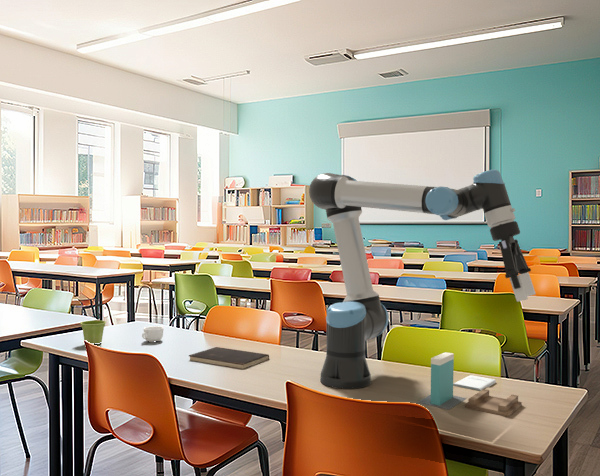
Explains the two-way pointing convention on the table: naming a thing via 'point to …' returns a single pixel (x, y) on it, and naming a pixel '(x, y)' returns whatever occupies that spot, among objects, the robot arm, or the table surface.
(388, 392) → the table surface
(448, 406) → the mat
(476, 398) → the rack
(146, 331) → the teacup
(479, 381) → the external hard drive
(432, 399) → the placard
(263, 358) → the hardcover book
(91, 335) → the plant pot
